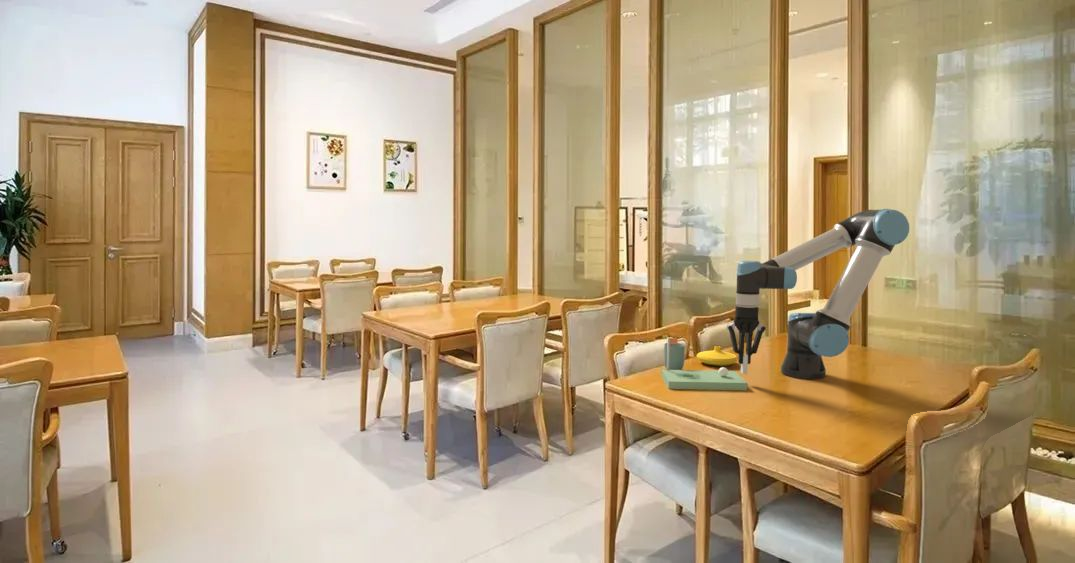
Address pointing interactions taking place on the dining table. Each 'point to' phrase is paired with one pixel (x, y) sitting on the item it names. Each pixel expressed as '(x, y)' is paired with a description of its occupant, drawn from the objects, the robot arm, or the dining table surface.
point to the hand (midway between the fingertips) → (743, 372)
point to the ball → (723, 371)
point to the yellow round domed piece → (717, 357)
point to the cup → (675, 356)
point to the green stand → (700, 377)
